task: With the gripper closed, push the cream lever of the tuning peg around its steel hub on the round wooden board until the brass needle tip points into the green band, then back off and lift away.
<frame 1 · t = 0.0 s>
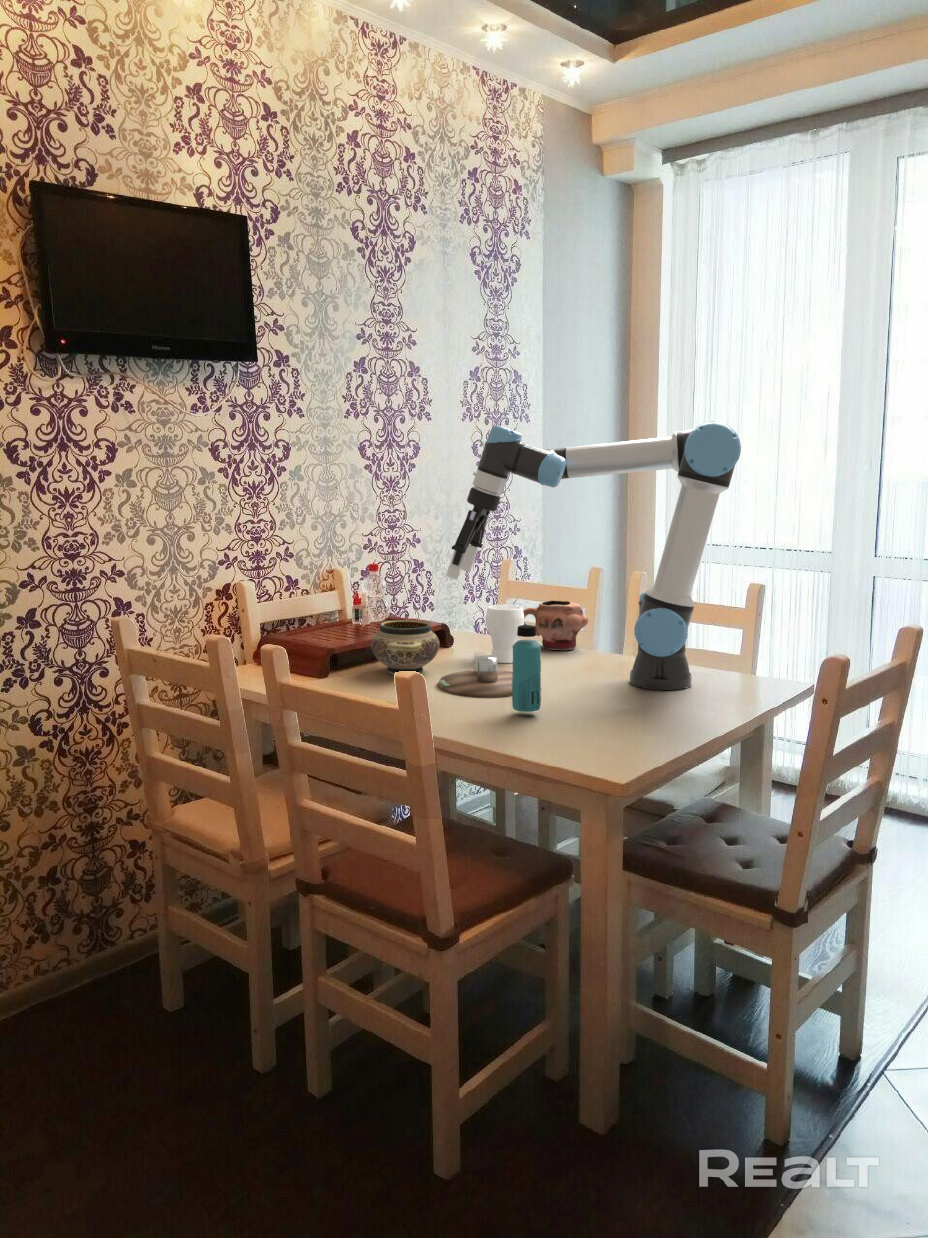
hand: (458, 574, 227), 28 cm above the table, tool tilted 20°, fingers open, 13 cm apart
round wooden board: (487, 684, 232), on the table
cup: (504, 661, 260), on the table
beverage bottle: (526, 715, 206), on the table
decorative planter: (553, 648, 276), on the table
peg: (483, 664, 236), point 4 cm above the table, hinge at -20.0°
ceramic bowl: (405, 672, 246), on the table
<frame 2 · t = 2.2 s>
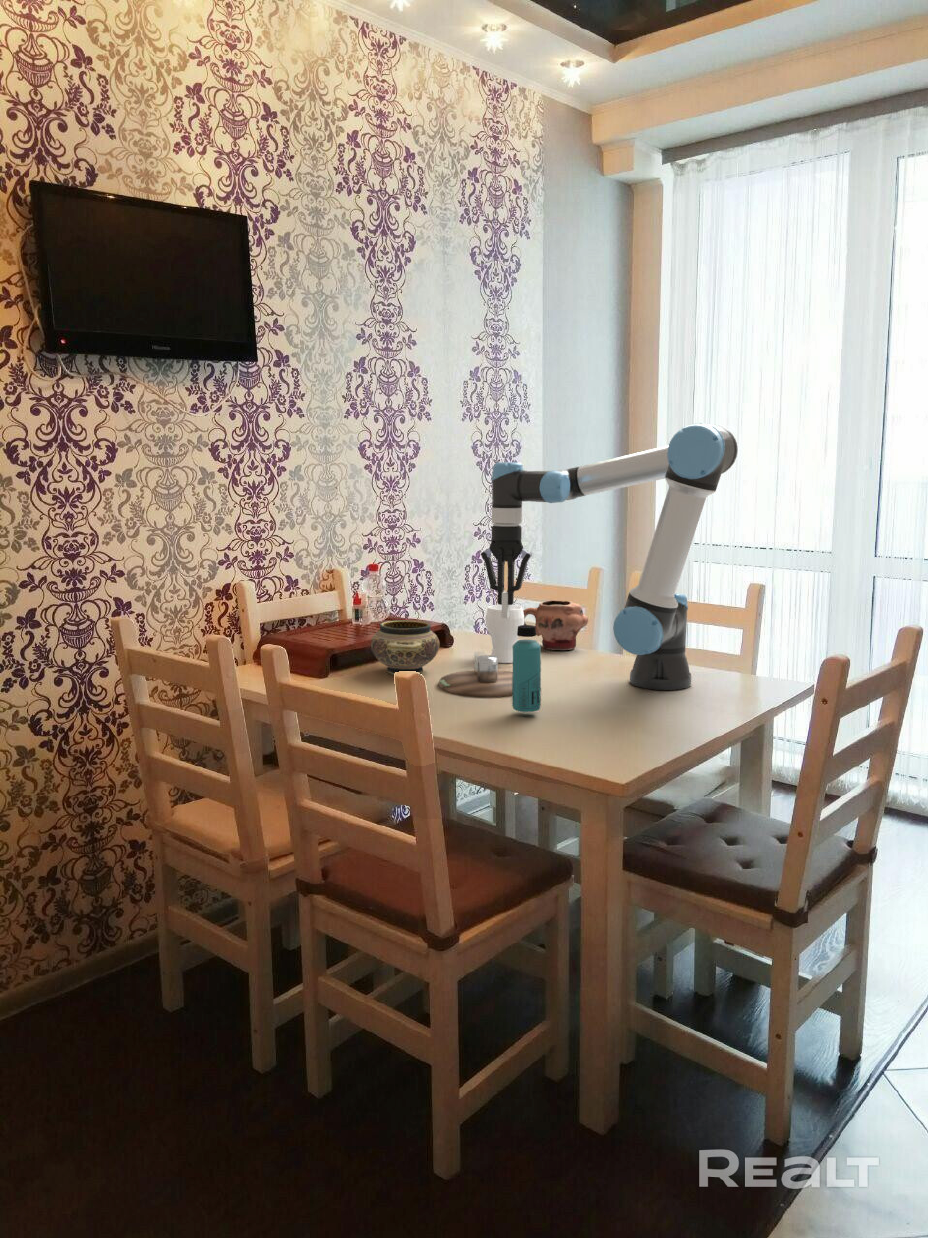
hand: (505, 617, 238), 16 cm above the table, tool pointing down, fingers closed
nothing on the table moved.
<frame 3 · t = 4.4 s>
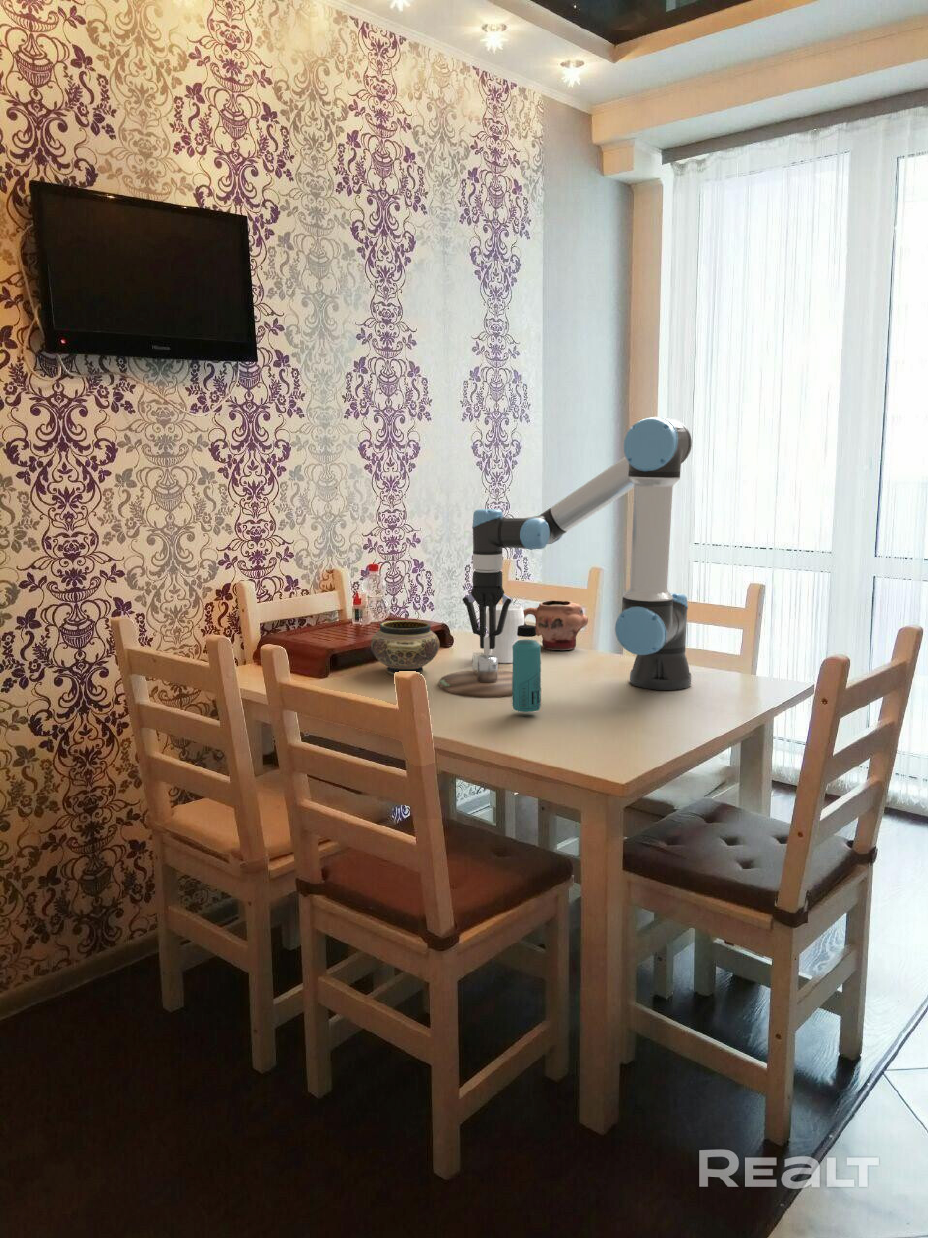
hand: (487, 660, 241), 4 cm above the table, tool pointing down, fingers closed
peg: (482, 664, 236), point 4 cm above the table, hinge at -17.5°, touching gripper
everything else where it was.
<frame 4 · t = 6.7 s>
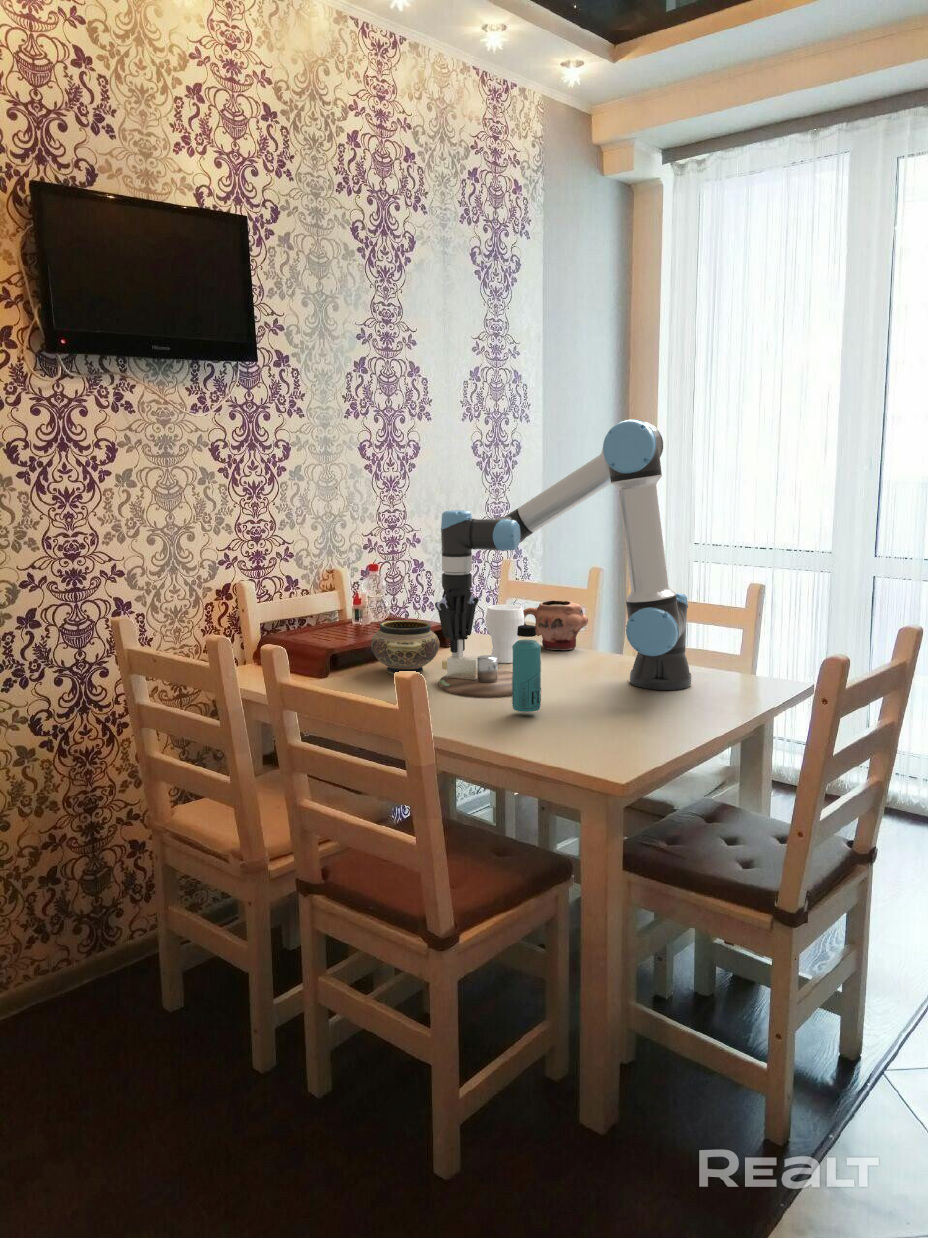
hand: (457, 664, 237), 4 cm above the table, tool pointing down, fingers closed
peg: (469, 666, 234), point 4 cm above the table, hinge at 34.9°, touching gripper
everything else where it was.
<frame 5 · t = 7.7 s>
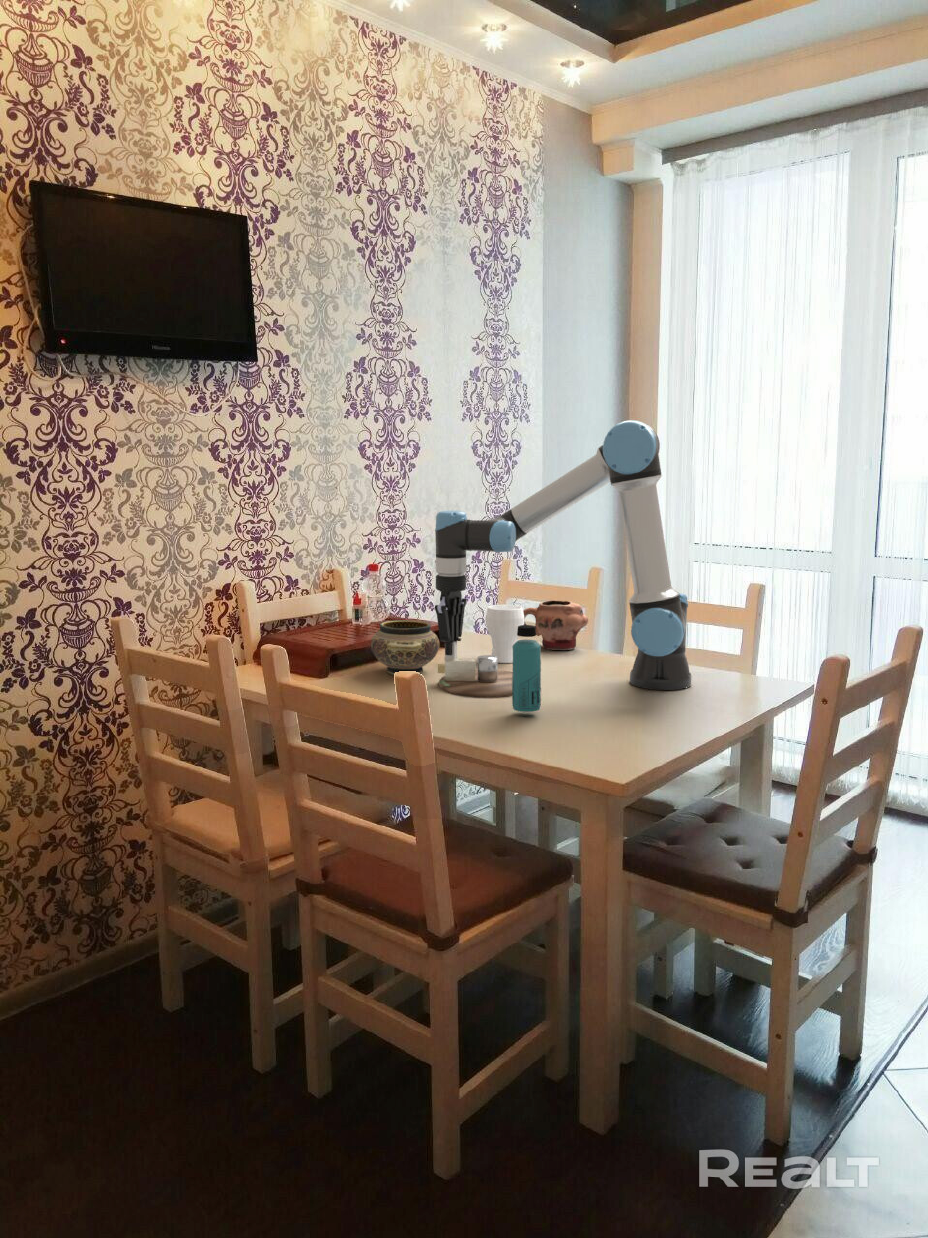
hand: (450, 666, 234), 4 cm above the table, tool pointing down, fingers closed
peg: (467, 668, 232), point 4 cm above the table, hinge at 56.3°, touching gripper
everything else where it was.
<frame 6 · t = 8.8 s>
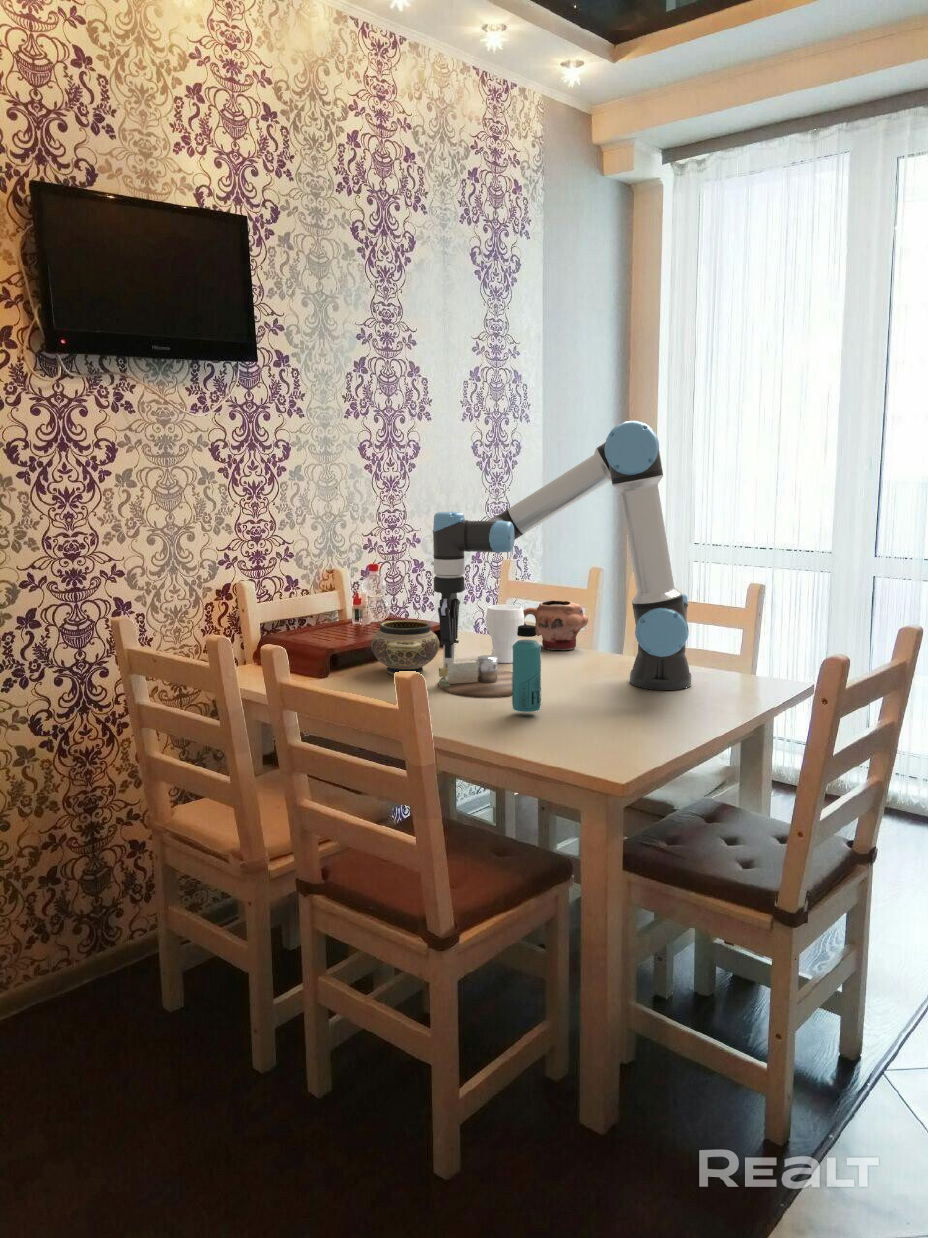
hand: (449, 669, 231), 4 cm above the table, tool pointing down, fingers closed
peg: (468, 670, 230), point 4 cm above the table, hinge at 75.3°, touching gripper
everything else where it was.
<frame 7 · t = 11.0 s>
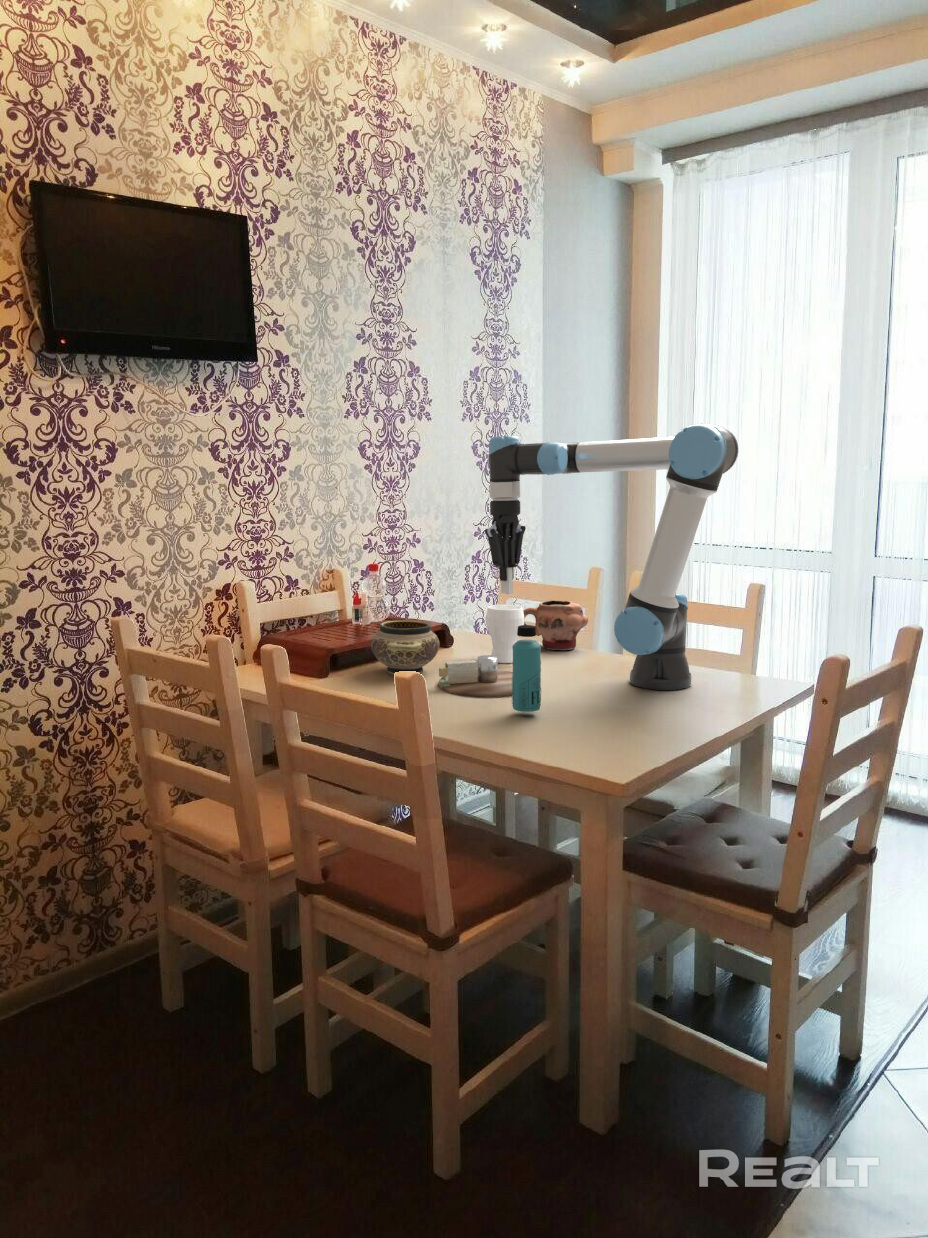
hand: (507, 593, 236), 22 cm above the table, tool pointing down, fingers closed
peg: (468, 670, 230), point 4 cm above the table, hinge at 75.4°
everything else where it was.
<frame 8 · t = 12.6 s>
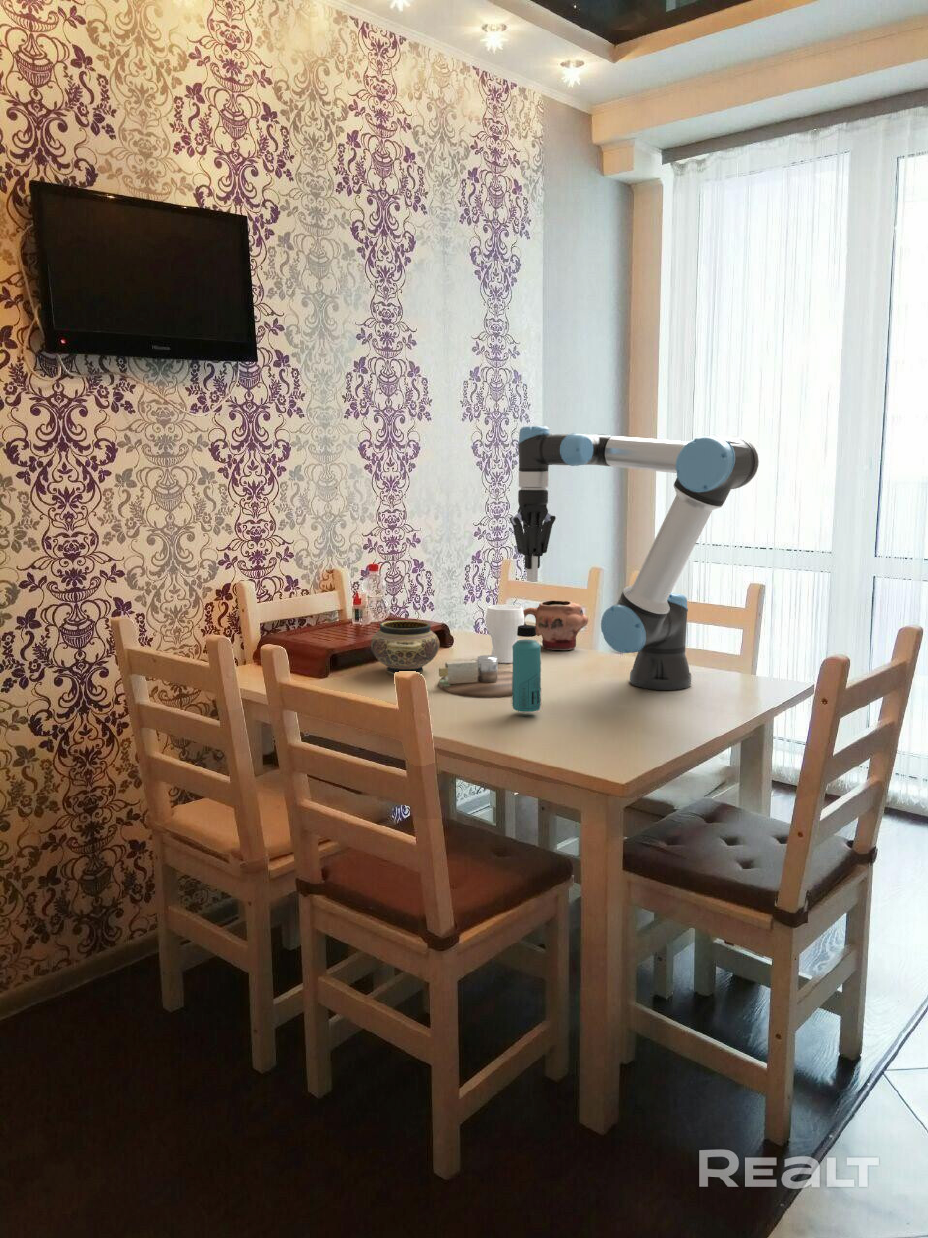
hand: (532, 581, 239), 24 cm above the table, tool pointing down, fingers closed
nothing on the table moved.
at the end: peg at +75° (first picture: -20°) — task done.
